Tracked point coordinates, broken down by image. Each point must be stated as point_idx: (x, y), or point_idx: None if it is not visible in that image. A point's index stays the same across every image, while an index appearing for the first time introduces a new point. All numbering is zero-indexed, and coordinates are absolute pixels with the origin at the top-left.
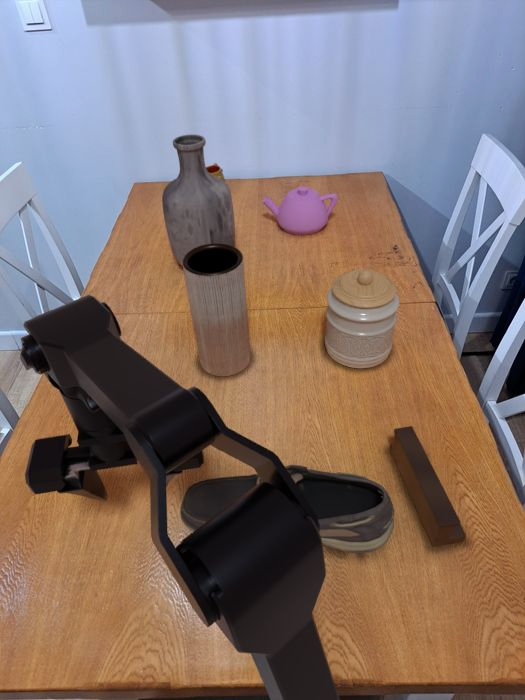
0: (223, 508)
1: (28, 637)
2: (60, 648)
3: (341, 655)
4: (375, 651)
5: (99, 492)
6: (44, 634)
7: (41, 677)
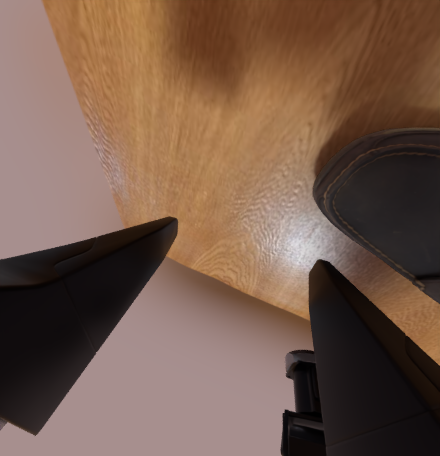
0: (398, 231)
1: (135, 218)
2: None
3: None
4: None
5: (142, 278)
6: None
7: None
